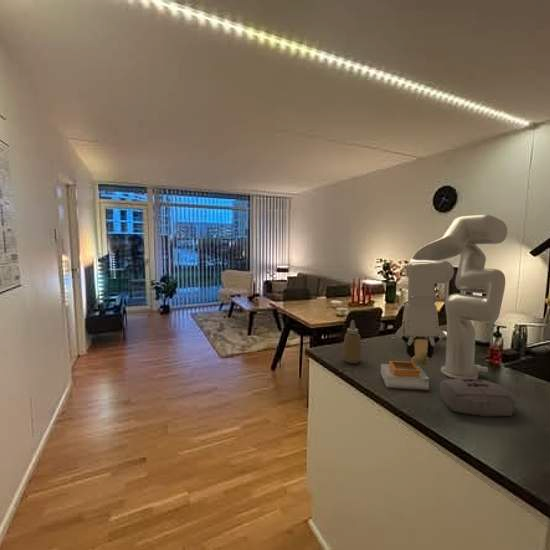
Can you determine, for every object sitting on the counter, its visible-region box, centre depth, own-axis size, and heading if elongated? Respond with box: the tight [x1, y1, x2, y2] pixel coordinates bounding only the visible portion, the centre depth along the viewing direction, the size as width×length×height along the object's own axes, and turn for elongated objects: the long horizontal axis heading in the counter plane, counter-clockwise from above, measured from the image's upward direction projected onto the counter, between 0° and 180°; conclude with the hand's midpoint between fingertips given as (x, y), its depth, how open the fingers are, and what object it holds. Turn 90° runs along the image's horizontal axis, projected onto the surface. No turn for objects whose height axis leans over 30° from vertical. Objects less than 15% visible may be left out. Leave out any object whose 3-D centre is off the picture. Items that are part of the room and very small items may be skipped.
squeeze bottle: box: [342, 320, 363, 364], centre depth 134 cm, size 8×8×18 cm
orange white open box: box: [380, 360, 430, 391], centre depth 114 cm, size 14×12×6 cm
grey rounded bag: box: [439, 378, 518, 417], centre depth 96 cm, size 15×8×20 cm
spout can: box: [410, 337, 429, 366], centre depth 100 cm, size 6×5×9 cm
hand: (419, 355), depth 100 cm, fingers closed on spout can, 5 cm apart
